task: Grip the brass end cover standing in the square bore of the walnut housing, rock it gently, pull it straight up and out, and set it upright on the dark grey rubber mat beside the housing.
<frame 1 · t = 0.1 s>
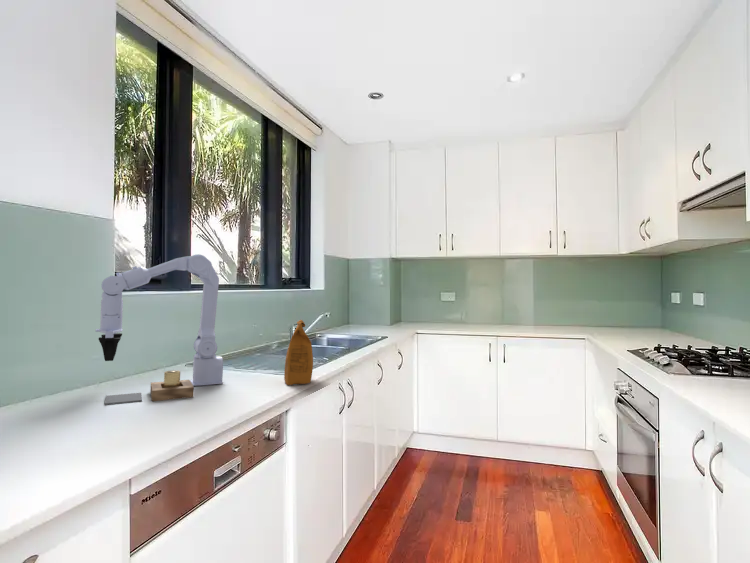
hand: (110, 358, 129), 10 cm above the worktop, fingers open, 7 cm apart
mat: (123, 399, 121), on the worktop
end cover: (172, 383, 127), in the housing
housing: (171, 394, 127), on the worktop
coffee package: (298, 382, 149), on the worktop
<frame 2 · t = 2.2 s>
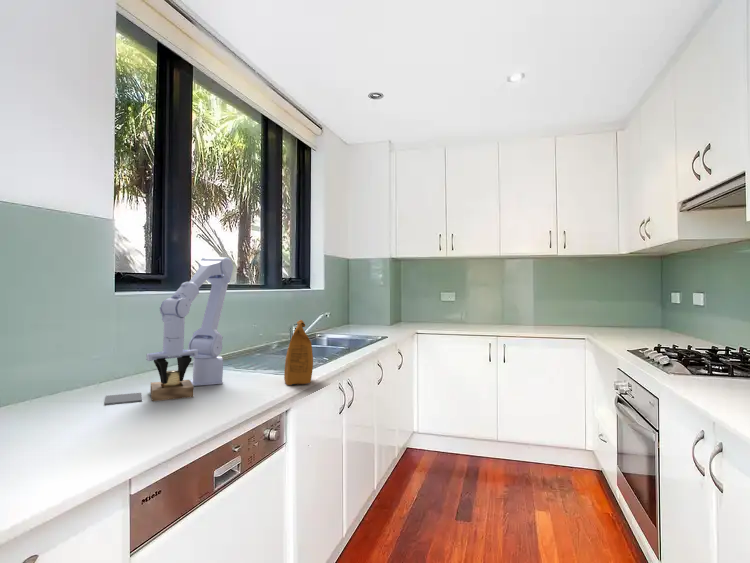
hand: (172, 381, 127), 4 cm above the worktop, fingers closed on end cover, 4 cm apart
end cover: (172, 383, 127), in the housing, touching gripper
everything else where it was.
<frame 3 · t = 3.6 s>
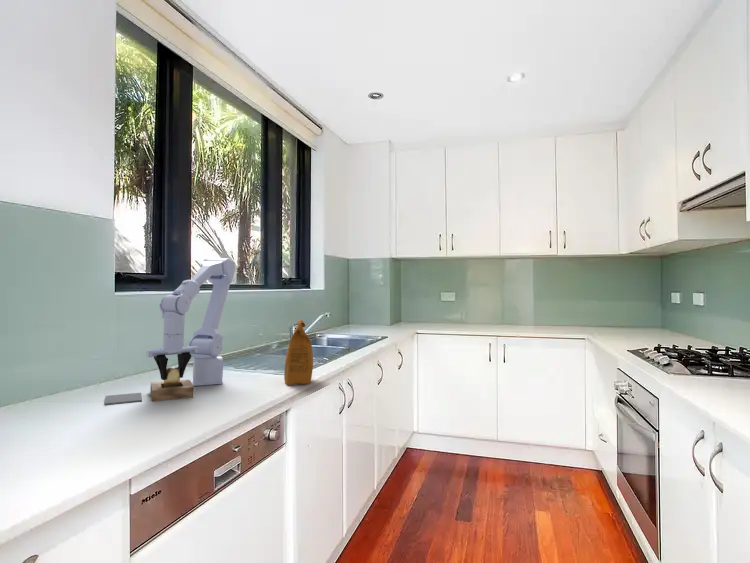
hand: (172, 378, 128), 5 cm above the worktop, fingers closed on end cover, 4 cm apart
end cover: (172, 379, 128), in the housing, point 4 cm above the worktop, touching gripper
everything else where it was.
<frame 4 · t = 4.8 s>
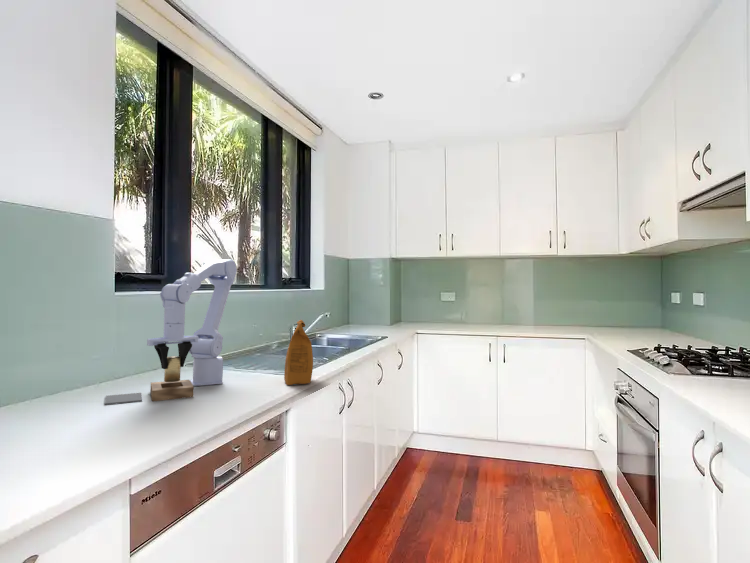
hand: (172, 367, 127), 8 cm above the worktop, fingers closed on end cover, 4 cm apart
end cover: (172, 368, 127), point 8 cm above the worktop, touching gripper
everything else where it was.
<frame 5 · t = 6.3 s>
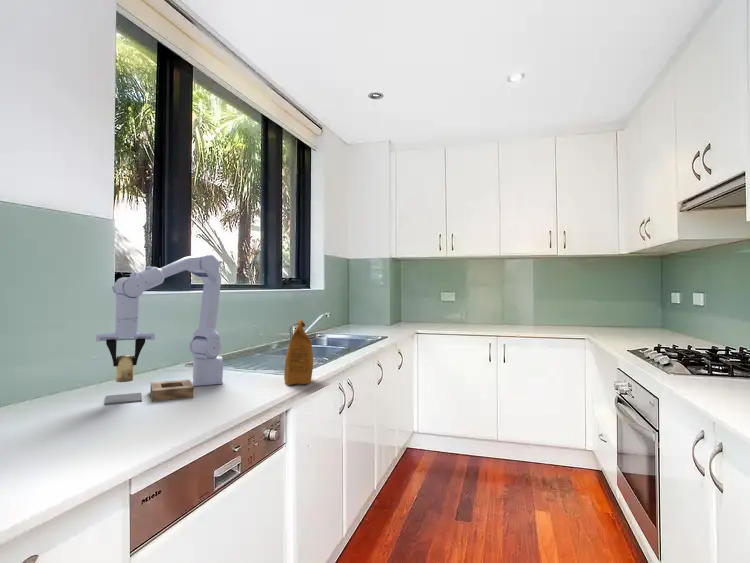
hand: (125, 365, 121), 10 cm above the worktop, fingers closed on end cover, 4 cm apart
end cover: (125, 368, 121), point 9 cm above the worktop, touching gripper
everything else where it was.
when the fingers open (6 cm above the worktop, at t = 7.6 s): end cover stays where it is, resting on mat.
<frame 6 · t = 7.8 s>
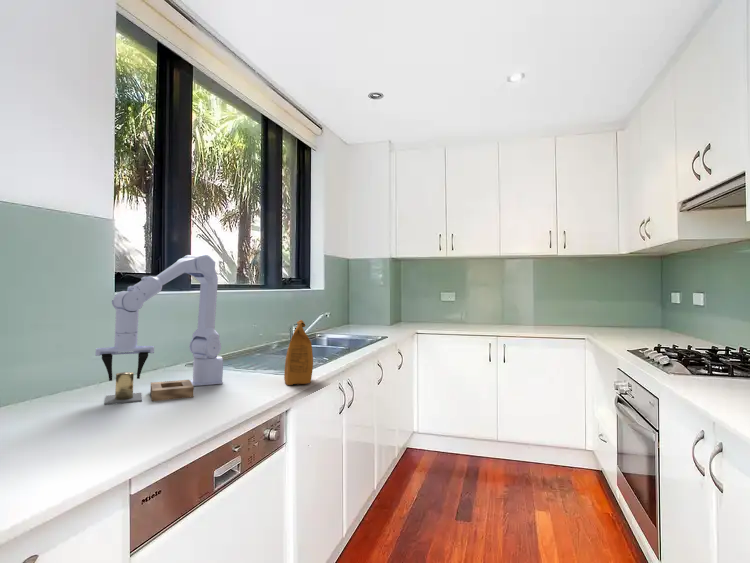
hand: (124, 379, 121), 6 cm above the worktop, fingers open, 6 cm apart
end cover: (124, 385, 121), on the mat
everything else where it was.
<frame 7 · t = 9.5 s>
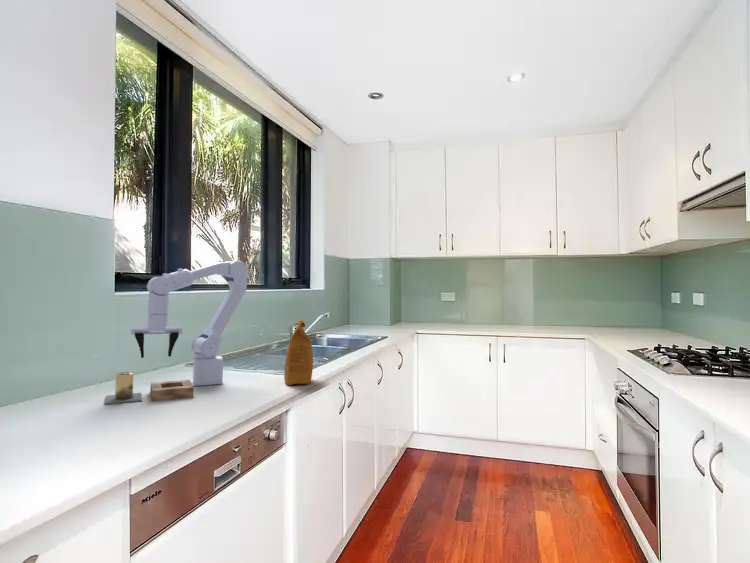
hand: (156, 356, 133), 10 cm above the worktop, fingers open, 7 cm apart
nothing on the worktop moved.
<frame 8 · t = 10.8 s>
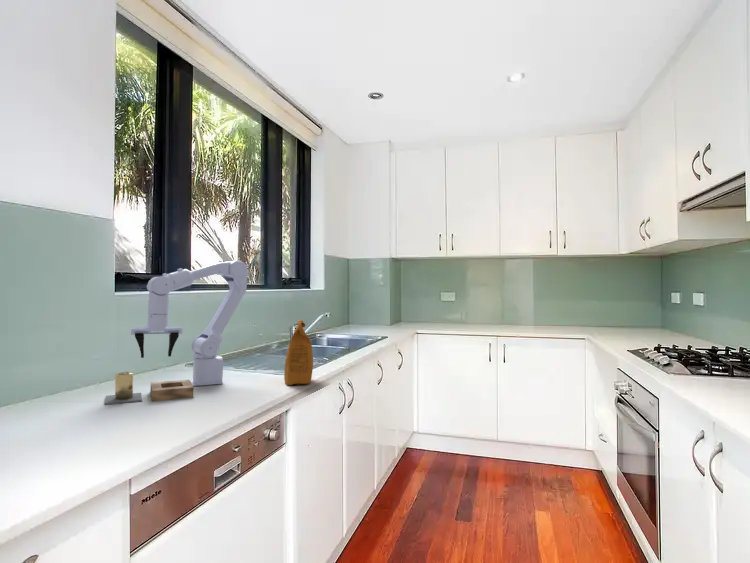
hand: (156, 356, 133), 10 cm above the worktop, fingers open, 7 cm apart
nothing on the worktop moved.
at the end: end cover inside the target area on the mat (0.1 cm from its centre), point 4.0 cm above the mat's base; end cover tilted 2°; the gripper is holding nothing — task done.
